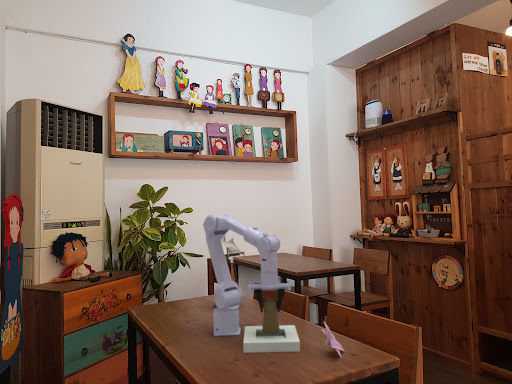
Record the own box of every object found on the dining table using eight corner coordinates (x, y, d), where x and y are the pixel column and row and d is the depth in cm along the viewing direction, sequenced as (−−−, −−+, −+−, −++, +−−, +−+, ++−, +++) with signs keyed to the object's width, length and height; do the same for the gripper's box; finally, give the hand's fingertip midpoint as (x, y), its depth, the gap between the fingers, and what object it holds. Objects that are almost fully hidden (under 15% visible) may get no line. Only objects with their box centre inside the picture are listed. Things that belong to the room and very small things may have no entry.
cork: (278, 334, 129) (277, 301, 128) (260, 333, 130) (259, 301, 129) (280, 327, 135) (279, 296, 134) (263, 326, 136) (262, 296, 135)
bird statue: (252, 310, 175) (250, 232, 177) (228, 315, 167) (226, 234, 169) (233, 303, 188) (231, 231, 190) (209, 307, 181) (208, 233, 183)
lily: (328, 367, 112) (342, 340, 112) (301, 344, 119) (314, 319, 119) (344, 367, 120) (358, 342, 120) (318, 345, 127) (331, 322, 127)
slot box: (243, 352, 122) (243, 343, 122) (245, 334, 140) (245, 326, 140) (300, 351, 122) (299, 341, 122) (294, 333, 140) (294, 325, 140)
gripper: (247, 273, 128) (248, 315, 127) (291, 272, 128) (292, 314, 127) (248, 270, 135) (249, 309, 135) (289, 269, 135) (290, 308, 134)
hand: (270, 311), depth 131 cm, fingers closed on cork, 5 cm apart
